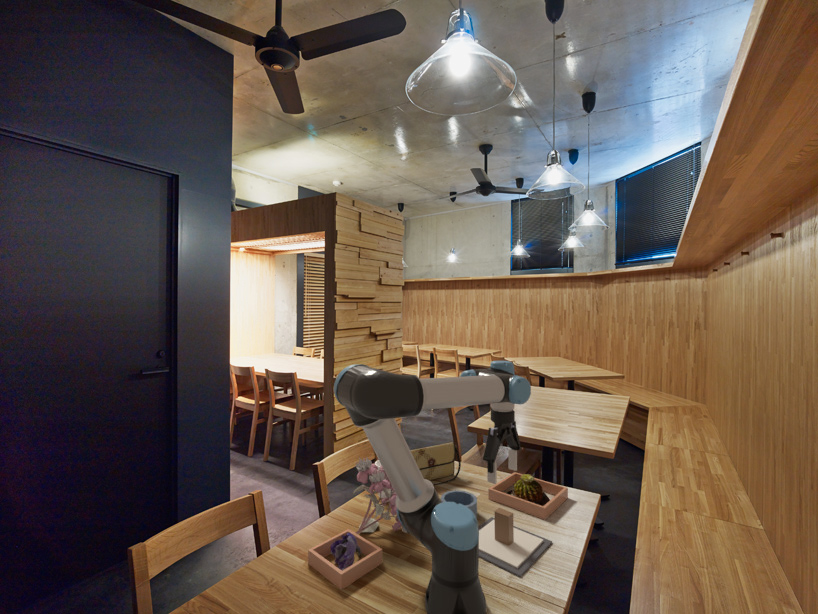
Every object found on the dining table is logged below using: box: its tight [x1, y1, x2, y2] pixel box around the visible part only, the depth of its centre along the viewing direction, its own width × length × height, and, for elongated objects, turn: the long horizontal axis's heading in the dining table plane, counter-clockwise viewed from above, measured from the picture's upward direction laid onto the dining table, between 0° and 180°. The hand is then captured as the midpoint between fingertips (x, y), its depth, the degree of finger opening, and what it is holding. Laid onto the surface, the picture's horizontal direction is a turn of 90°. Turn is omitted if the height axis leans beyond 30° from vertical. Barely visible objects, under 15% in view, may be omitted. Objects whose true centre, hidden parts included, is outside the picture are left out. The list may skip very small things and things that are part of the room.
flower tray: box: [307, 528, 383, 590], centre depth 113 cm, size 15×16×4 cm
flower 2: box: [352, 456, 408, 535], centre depth 129 cm, size 20×22×25 cm
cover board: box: [479, 507, 543, 569], centre depth 122 cm, size 18×18×10 cm
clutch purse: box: [410, 441, 462, 487], centre depth 168 cm, size 30×7×15 cm, turn 118°
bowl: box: [440, 489, 478, 518], centre depth 140 cm, size 13×13×6 cm
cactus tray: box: [487, 471, 569, 520], centre depth 152 cm, size 22×23×4 cm
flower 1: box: [330, 532, 362, 571], centre depth 114 cm, size 9×9×10 cm
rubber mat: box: [478, 516, 553, 578], centre depth 122 cm, size 22×22×1 cm
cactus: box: [505, 473, 551, 506], centre depth 152 cm, size 17×16×10 cm
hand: (502, 475), depth 123 cm, fingers open, 13 cm apart
